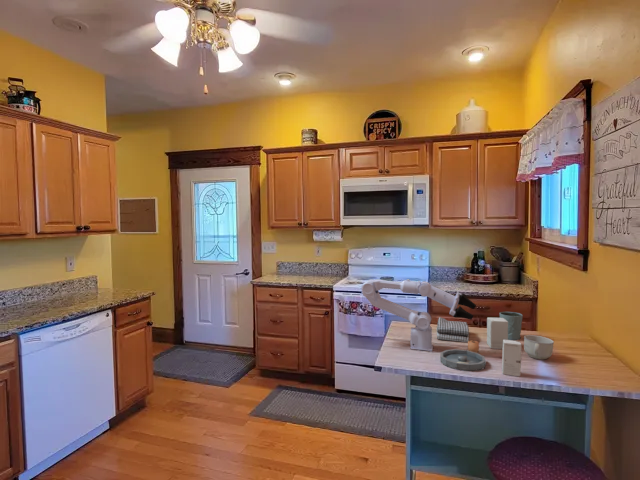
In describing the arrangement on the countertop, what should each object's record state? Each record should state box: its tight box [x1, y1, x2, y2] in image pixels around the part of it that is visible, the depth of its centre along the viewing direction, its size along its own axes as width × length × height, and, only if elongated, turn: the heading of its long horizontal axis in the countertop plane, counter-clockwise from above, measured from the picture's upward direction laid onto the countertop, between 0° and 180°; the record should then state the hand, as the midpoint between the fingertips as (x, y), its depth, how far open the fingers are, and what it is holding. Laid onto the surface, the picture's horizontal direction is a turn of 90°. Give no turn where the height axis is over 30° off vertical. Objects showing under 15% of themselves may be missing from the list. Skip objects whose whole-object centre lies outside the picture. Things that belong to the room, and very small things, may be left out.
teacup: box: [523, 334, 555, 360], centre depth 155 cm, size 14×11×8 cm
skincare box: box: [501, 340, 522, 377], centre depth 139 cm, size 6×4×12 cm
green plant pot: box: [499, 311, 523, 341], centre depth 183 cm, size 10×10×12 cm
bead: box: [467, 340, 480, 354], centre depth 161 cm, size 4×4×5 cm
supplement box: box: [486, 317, 508, 350], centre depth 170 cm, size 7×7×13 cm
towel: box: [435, 316, 470, 343], centre depth 186 cm, size 15×18×8 cm
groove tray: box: [439, 348, 487, 372], centre depth 151 cm, size 17×17×2 cm
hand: (473, 312), depth 161 cm, fingers open, 7 cm apart
